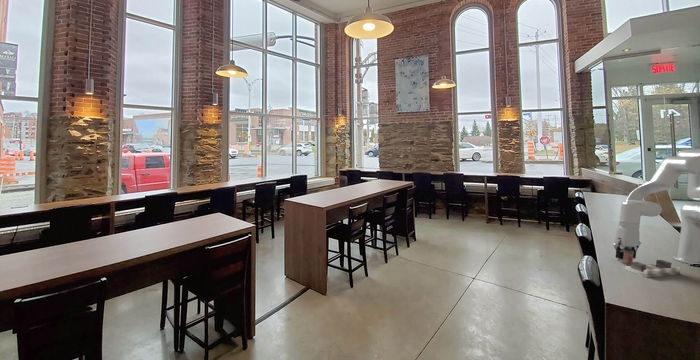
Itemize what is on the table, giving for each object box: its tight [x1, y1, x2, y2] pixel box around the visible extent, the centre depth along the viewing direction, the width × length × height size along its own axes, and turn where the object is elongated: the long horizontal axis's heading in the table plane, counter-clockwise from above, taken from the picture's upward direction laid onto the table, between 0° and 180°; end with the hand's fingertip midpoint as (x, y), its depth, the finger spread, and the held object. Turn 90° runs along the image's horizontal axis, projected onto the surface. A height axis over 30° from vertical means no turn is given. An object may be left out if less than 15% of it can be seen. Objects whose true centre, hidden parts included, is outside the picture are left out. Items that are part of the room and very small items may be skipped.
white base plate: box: [624, 259, 682, 278], centre depth 138 cm, size 20×9×4 cm, turn 99°
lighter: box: [617, 247, 634, 266], centre depth 148 cm, size 8×3×10 cm, turn 168°
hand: (625, 257), depth 148 cm, fingers open, 7 cm apart
